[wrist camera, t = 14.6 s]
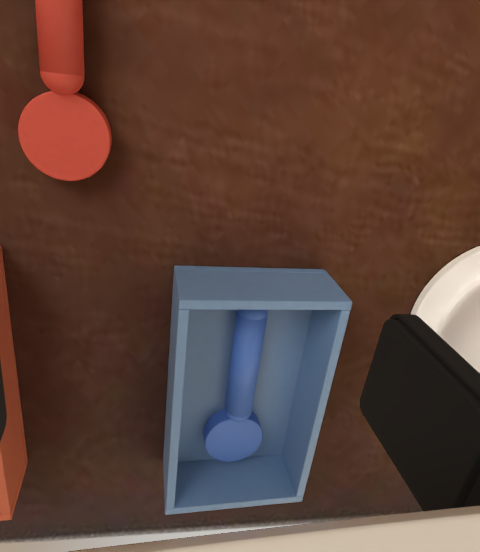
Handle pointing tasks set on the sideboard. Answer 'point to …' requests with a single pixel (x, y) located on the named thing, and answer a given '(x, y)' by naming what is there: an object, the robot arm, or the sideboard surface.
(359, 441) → the sideboard surface
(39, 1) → the red spoon
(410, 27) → the sideboard surface
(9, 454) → the red bin
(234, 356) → the blue spoon
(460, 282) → the decorative vase
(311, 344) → the blue bin
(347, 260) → the sideboard surface
